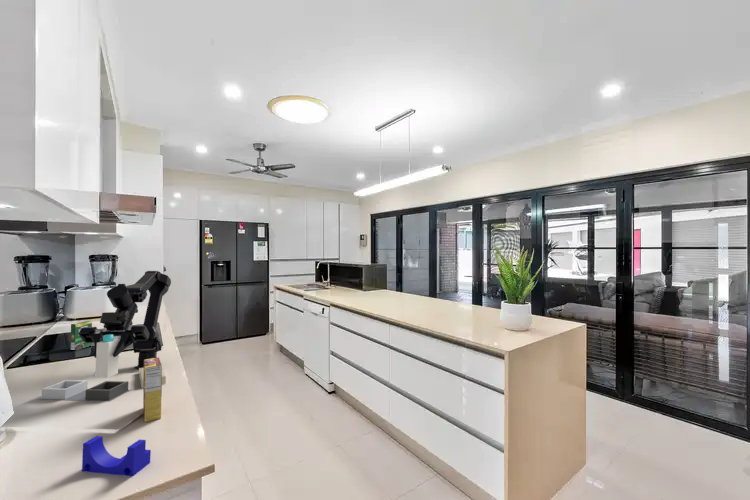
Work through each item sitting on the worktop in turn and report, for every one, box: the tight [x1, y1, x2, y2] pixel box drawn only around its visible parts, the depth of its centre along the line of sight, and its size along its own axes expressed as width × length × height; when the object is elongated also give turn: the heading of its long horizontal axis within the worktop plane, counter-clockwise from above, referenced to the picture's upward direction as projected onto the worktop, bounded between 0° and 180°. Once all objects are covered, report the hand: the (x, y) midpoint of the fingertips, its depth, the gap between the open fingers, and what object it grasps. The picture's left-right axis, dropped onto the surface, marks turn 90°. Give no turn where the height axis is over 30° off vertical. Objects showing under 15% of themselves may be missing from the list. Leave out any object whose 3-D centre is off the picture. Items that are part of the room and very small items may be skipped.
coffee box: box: [69, 320, 93, 351], centre depth 159 cm, size 8×3×13 cm, turn 169°
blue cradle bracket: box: [81, 435, 152, 477], centre depth 71 cm, size 12×4×6 cm, turn 84°
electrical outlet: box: [138, 367, 167, 389], centre depth 120 cm, size 7×4×18 cm
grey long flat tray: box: [36, 379, 132, 403], centre depth 105 cm, size 9×23×4 cm, turn 89°
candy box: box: [142, 357, 163, 423], centre depth 95 cm, size 9×4×15 cm, turn 37°
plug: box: [94, 334, 120, 379], centre depth 106 cm, size 4×4×13 cm
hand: (104, 356), depth 104 cm, fingers closed on plug, 5 cm apart
